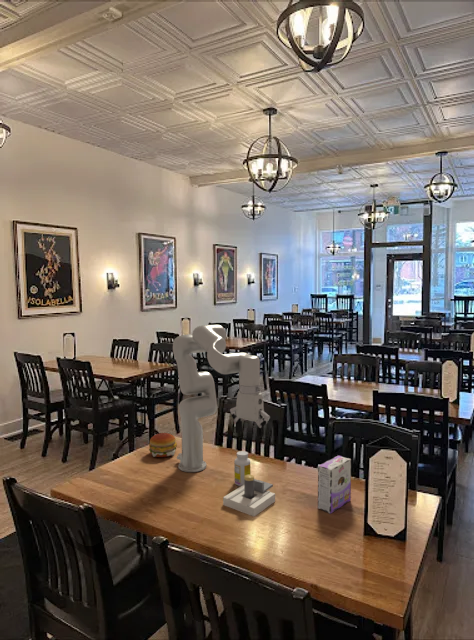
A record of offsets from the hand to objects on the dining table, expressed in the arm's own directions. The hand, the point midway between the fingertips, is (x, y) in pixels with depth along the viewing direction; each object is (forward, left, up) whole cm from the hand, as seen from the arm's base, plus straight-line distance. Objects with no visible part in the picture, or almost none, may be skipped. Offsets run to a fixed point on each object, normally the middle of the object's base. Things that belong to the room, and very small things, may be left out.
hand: (249, 434), depth 164 cm
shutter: (0, +8, -23) cm, 24 cm away
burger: (-62, +15, -27) cm, 69 cm away
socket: (0, 0, -26) cm, 26 cm away
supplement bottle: (-12, +12, -26) cm, 31 cm away
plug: (0, 0, -26) cm, 26 cm away
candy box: (+26, +18, -27) cm, 41 cm away
